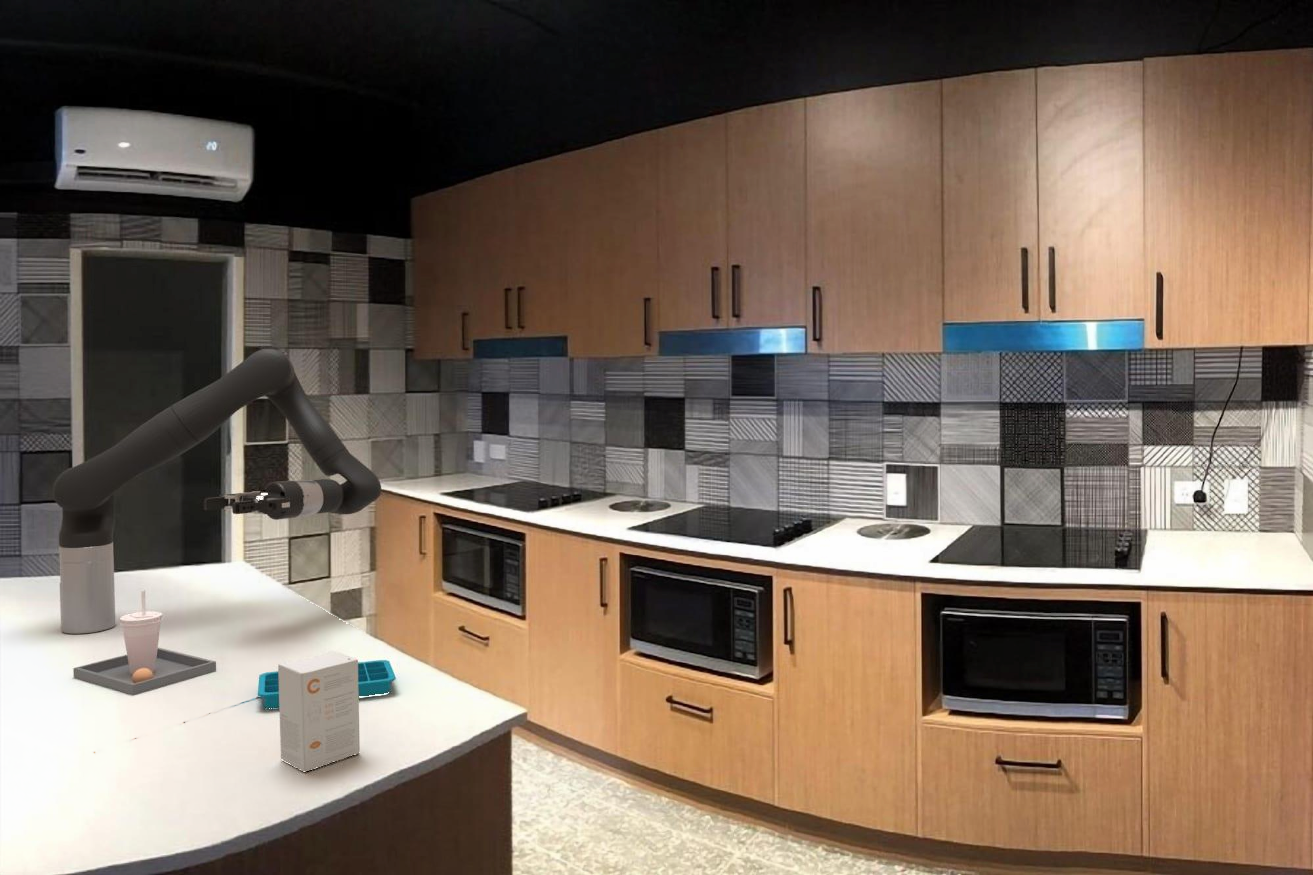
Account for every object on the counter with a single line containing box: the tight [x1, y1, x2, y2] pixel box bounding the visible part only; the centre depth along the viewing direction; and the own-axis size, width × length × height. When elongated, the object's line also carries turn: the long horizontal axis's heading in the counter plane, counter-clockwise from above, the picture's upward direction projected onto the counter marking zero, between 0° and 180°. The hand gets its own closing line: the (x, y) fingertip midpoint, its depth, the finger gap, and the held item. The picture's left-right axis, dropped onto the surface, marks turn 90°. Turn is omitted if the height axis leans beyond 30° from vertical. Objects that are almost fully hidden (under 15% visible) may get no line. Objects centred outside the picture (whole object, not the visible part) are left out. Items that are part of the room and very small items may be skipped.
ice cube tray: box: [257, 659, 396, 710], centre depth 144 cm, size 12×20×3 cm, turn 113°
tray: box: [72, 647, 217, 696], centre depth 152 cm, size 17×14×2 cm
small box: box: [277, 650, 361, 772], centre depth 118 cm, size 8×6×13 cm
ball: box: [132, 668, 153, 683], centre depth 145 cm, size 3×3×3 cm
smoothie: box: [119, 590, 164, 675], centre depth 153 cm, size 6×6×14 cm
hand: (219, 506), depth 167 cm, fingers open, 8 cm apart
